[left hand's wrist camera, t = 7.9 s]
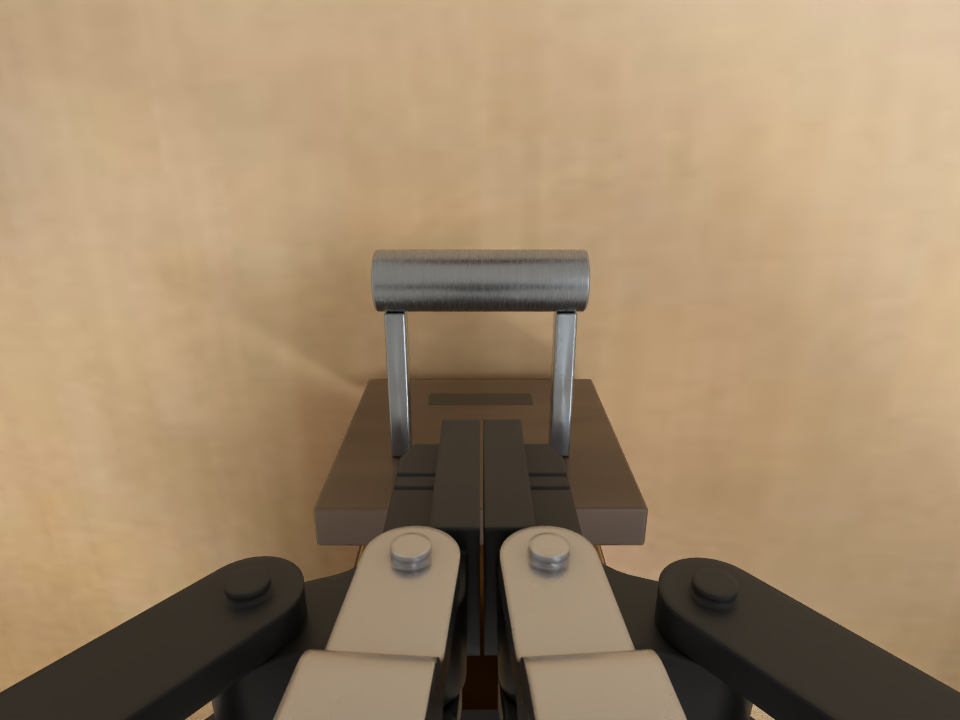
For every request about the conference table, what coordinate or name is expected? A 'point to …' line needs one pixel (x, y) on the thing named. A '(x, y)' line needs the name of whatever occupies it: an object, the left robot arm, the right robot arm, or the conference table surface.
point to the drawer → (480, 406)
